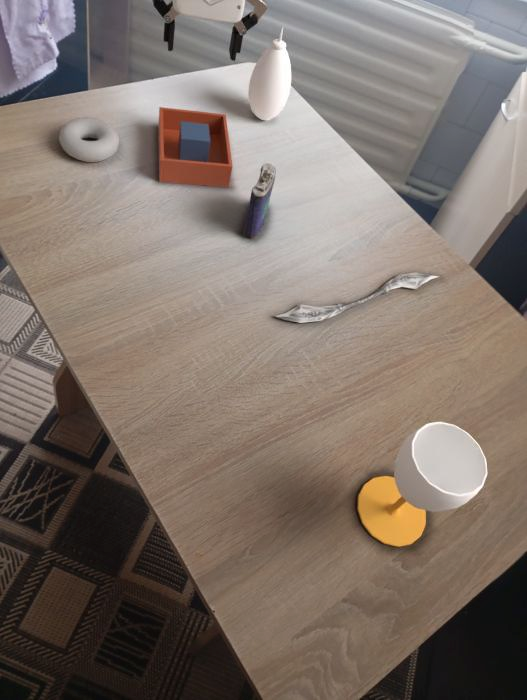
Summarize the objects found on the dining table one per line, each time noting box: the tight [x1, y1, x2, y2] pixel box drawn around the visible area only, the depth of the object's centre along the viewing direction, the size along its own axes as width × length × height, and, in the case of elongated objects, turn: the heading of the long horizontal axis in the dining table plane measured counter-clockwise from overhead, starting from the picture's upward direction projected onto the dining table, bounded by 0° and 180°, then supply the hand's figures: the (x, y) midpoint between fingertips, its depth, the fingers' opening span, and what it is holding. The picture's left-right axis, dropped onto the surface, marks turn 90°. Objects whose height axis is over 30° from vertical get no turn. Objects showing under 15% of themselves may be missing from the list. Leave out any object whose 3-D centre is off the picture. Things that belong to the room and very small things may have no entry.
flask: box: [242, 163, 277, 240], centre depth 92 cm, size 9×3×11 cm, turn 166°
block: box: [178, 121, 210, 162], centre depth 101 cm, size 5×5×5 cm
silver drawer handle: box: [275, 271, 441, 324], centre depth 91 cm, size 32×1×5 cm
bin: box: [157, 106, 233, 188], centre depth 102 cm, size 12×15×4 cm
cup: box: [356, 421, 488, 548], centre depth 65 cm, size 9×9×16 cm
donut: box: [58, 116, 120, 163], centre depth 98 cm, size 10×4×10 cm
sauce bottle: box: [247, 26, 292, 121], centre depth 108 cm, size 8×8×18 cm
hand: (201, 51), depth 88 cm, fingers open, 9 cm apart
